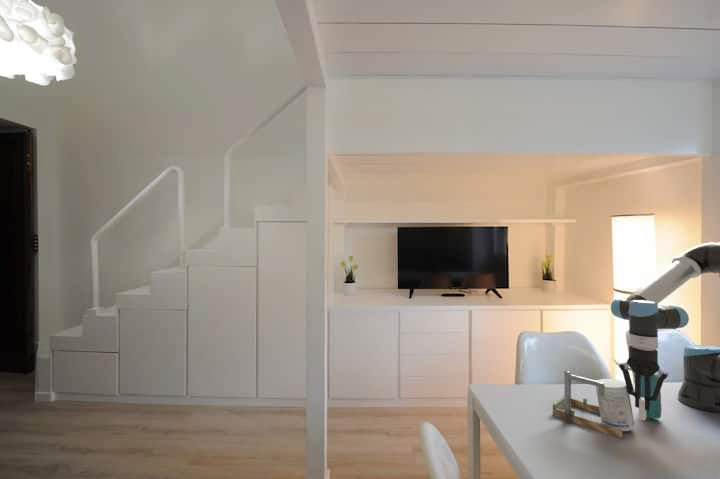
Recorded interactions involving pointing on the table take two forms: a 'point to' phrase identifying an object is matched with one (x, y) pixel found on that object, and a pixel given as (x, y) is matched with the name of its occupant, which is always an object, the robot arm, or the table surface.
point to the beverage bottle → (654, 405)
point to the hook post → (567, 391)
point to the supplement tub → (616, 405)
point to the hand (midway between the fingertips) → (642, 418)
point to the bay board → (607, 429)
